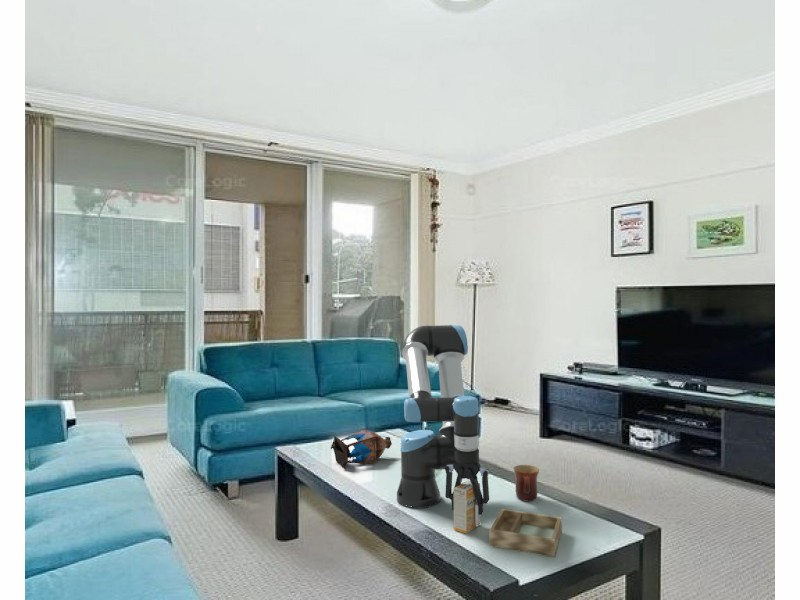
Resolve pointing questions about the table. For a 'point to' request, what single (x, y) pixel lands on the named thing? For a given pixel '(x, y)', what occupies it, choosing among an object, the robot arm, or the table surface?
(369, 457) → the lantern
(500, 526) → the frame
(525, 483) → the mug
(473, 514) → the supplement box
